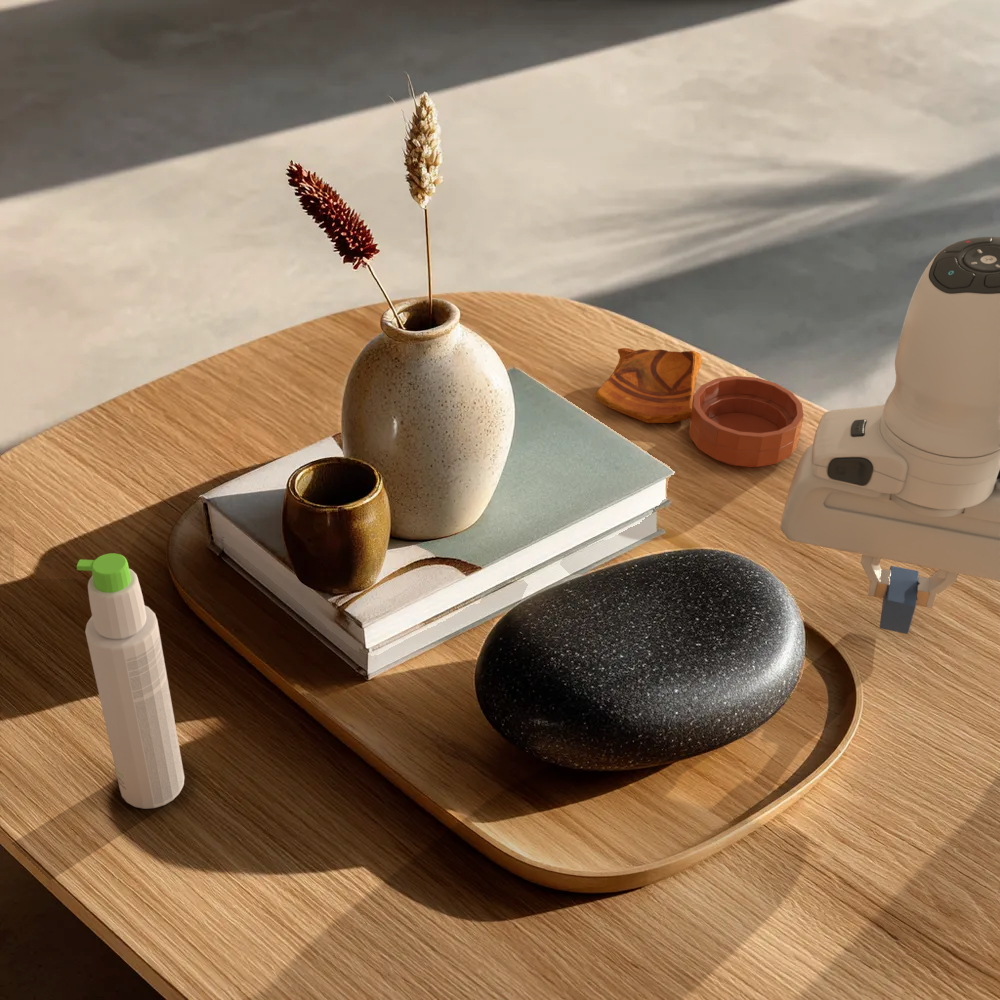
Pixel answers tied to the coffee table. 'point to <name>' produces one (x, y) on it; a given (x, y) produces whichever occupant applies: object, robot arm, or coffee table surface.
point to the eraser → (899, 600)
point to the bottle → (132, 684)
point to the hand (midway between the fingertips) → (899, 597)
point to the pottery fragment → (652, 385)
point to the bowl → (745, 421)
